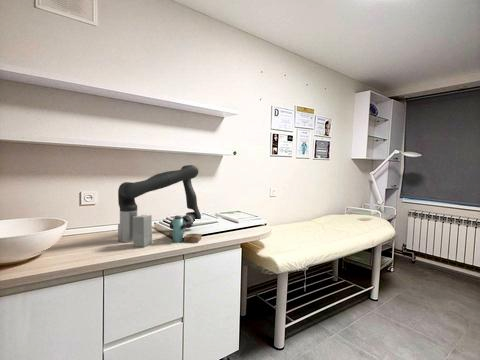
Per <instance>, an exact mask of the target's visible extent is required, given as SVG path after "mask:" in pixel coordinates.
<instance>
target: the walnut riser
mask: <svg viewBox="0 0 480 360" xmlns="http://www.w3.org/2000/svg"><path fill="white" fill-rule="evenodd" d="M201 240H202V233H190V234H188V233H187V234H185V235H183V242H184V243H193V244H194V243H196V244H197V243H199V242H200V241H201Z"/></svg>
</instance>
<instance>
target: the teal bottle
mask: <svg viewBox="0 0 480 360" xmlns="http://www.w3.org/2000/svg"><path fill="white" fill-rule="evenodd" d="M181 217H182V215H175V216H174V218H172V221H173V229H172V242H173V243H182V242H184V229H181V226H182V225H183V218H181Z"/></svg>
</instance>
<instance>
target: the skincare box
mask: <svg viewBox="0 0 480 360" xmlns="http://www.w3.org/2000/svg"><path fill="white" fill-rule="evenodd" d="M152 218H153V216H152V215H151V214H150V215H147V214H145V215H144V214H141V215H137V216H136V217H133V239H134V241H133V247H139V248H145V247H147V246H149V245H151V244H153V233H152V232H153V229H152V228H153V227H152V226H153V225H152V224H153V223H152V222H153V221H152V220H153V219H152Z"/></svg>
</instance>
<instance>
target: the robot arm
mask: <svg viewBox="0 0 480 360" xmlns="http://www.w3.org/2000/svg"><path fill="white" fill-rule="evenodd" d="M198 175H199V169H198V167H197V166H196V165H193V164H188V165H183V166H182V167H181V168H180V169H178V170H176V169H175V170H170V171H169V170H168V171H164V172H161V173H156V174H154V175H151V176H150V177H148V178H147V179H144V180H140V181H135V182H129V181H127V182H126V181H125V182H122V183H121V184H120V185H119V187H118V189H117V191H118V192H117V197H118V198H117V201H118V207H119V223H118V224H117V242H121V243H134V239H133V217H136V216H138V204H137V203H136V200H135V199H136V198H138V197H140V196H142V195H145V194H147V193H150V192H155V191H157V190H160V189H164V188H168V187H169V186H172V185H175V184H177V183H180V182H182V184H183V189H184V192H185V193H184V194H185V199H186V208H187V209H189V210H193V211H189V212H186V213H185V215H182V216H181V218H183V225H182V226H181V229H183V230H186V229H191V228H192V227H194V223H195V222H194V221H195V219H202V215H201V212H200V209H199V206H198V198H197V194H196V192H195V190H194V187H193V184H192V179H195V178H196V177H198ZM193 222H194V223H193ZM169 229H170V230H173V220H172V221H170V222H169Z"/></svg>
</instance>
